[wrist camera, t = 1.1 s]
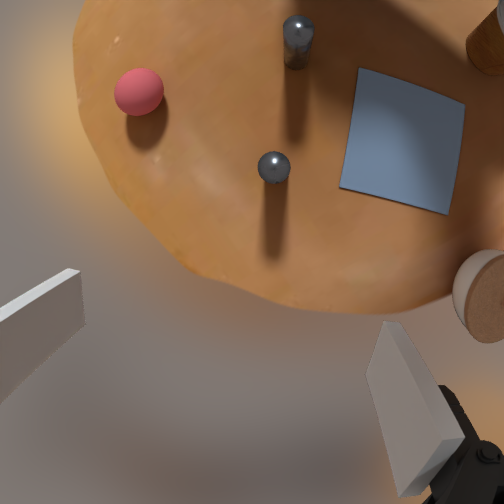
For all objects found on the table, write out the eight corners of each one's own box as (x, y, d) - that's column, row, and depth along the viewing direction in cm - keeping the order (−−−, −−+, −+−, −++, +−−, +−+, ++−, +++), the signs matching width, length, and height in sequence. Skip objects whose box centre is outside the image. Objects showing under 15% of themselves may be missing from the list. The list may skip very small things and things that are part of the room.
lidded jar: (502, 232, 32) (545, 251, 23) (499, 305, 35) (534, 335, 26) (438, 247, 34) (477, 272, 25) (439, 324, 36) (469, 362, 27)
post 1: (266, 153, 33) (260, 148, 25) (290, 157, 33) (293, 154, 25) (262, 176, 34) (255, 180, 25) (286, 181, 34) (287, 186, 25)
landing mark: (358, 67, 30) (359, 67, 29) (464, 105, 29) (465, 104, 29) (339, 186, 33) (339, 186, 33) (447, 215, 33) (447, 215, 33)
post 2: (285, 47, 30) (285, 13, 21) (309, 51, 30) (316, 18, 21) (282, 67, 31) (281, 37, 22) (305, 71, 30) (312, 42, 22)
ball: (133, 74, 32) (111, 63, 27) (174, 75, 32) (157, 62, 27) (124, 117, 34) (101, 111, 28) (165, 120, 33) (146, 113, 28)
